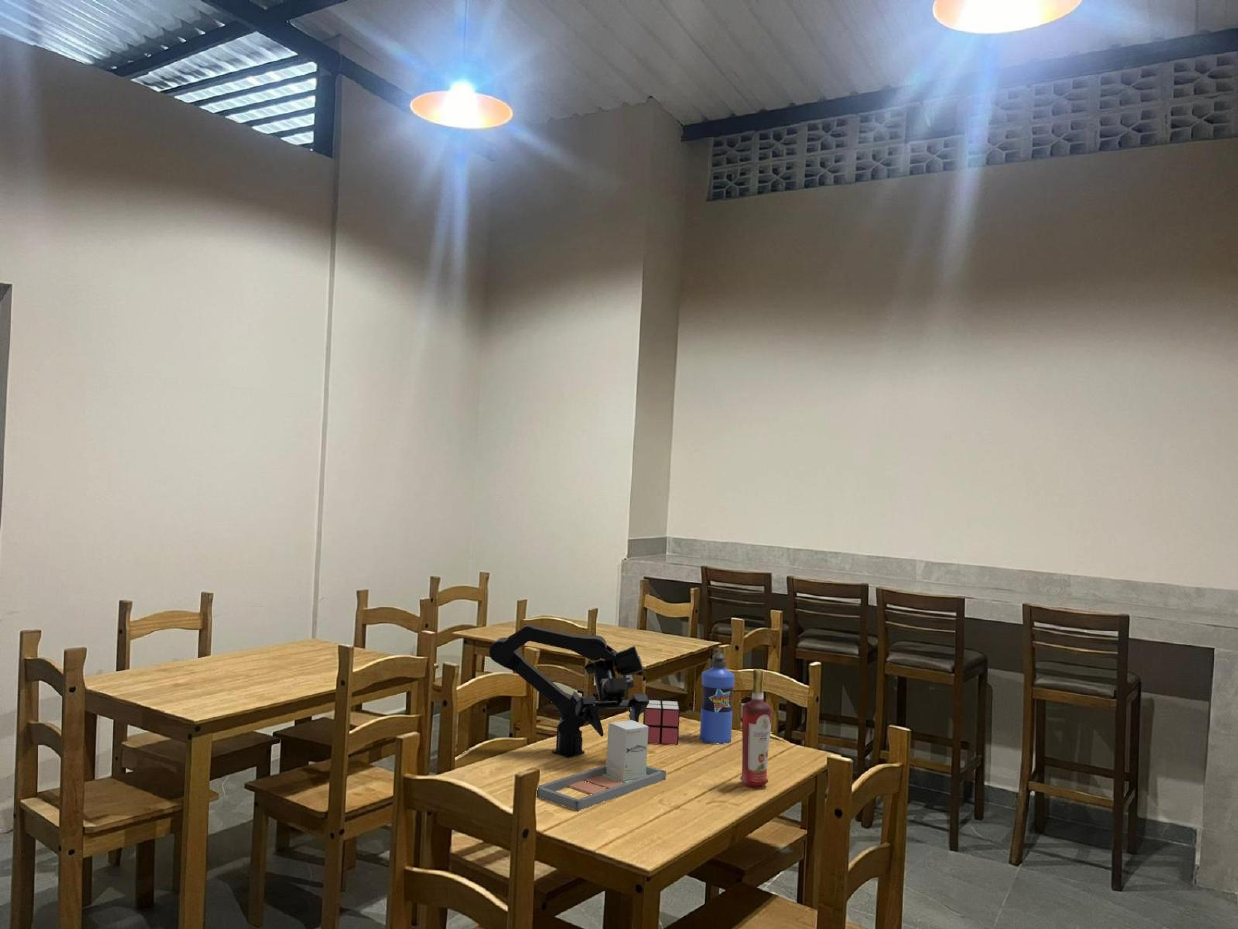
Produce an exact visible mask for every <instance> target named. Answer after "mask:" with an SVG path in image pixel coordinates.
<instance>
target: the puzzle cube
mask: <svg viewBox="0 0 1238 929" xmlns="http://www.w3.org/2000/svg"><path fill="white" fill-rule="evenodd" d="M680 709H681V708H680V706H679V702H678V701H671V700H662V701H661V700H653V699H652V700H651V699H649V704H648V705H647V707H646V709H645V711H644V713H642V715H643V718H642V724H644V725H646V726H648V744H649V743H660V745H668V744H675V745H674V746H678V745H679V737H680V736H679V735H680V714H681V713H680V712H681V710H680Z"/></svg>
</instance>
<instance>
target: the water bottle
mask: <svg viewBox="0 0 1238 929" xmlns="http://www.w3.org/2000/svg"><path fill="white" fill-rule="evenodd" d="M712 658H713V659H712V660H711V664H710V665H711V666H712V667H710V668H709V669H707V670H704V671H702V672H701V685H702V703H701V708H700V724H699V726H700V728H699V740H700V739H701V740H702V741H701V740H700V741H701V742H702V743H703V742H704V743H705V742H706V743H707V744H710V743H719V744H718V745H725V744H724V743H728V744H730V743H732V730H733V726H732V725H733V706H732V700H733V699H732V698H733V691H734V688H735V673H733V672H731V671H729V670H728V669H727V668H726V666H727V660H725V659H726V658H727V657H726V655H725V654H724V653H723V652H719V651H718V652H715V653H714V654H713V655H712Z"/></svg>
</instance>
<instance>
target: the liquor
mask: <svg viewBox="0 0 1238 929" xmlns="http://www.w3.org/2000/svg"><path fill="white" fill-rule="evenodd" d="M752 670H753V673H752V674H753V675H752V677H753V678H752V679H753V685H752V692H751V700H750V701H747V702H746V703H744V704H743V705H742V706H741V712H742V713H741V714H742V716H741V718H742V719H741V720H742V721H741V729H742V730H741V736H742V743H741V744H742V749H741V751H742V756H741V757H742V760H741V762H742V763H741V765H742V766H741V775H740V778H739V779H740V781H741V783H743V785H744V786H745V787H747V788H750V787H751V789H760V788H763V787H764V786H765V785H767V783H769V779H768V776H767V775H768V773H767V772H768V760H769V749H770V738H771V729H772V728H771V727H772V714H773V707H771V706H770V705H769V704H768V703H766V702H765V700H764V685H763V684H764V679H765V669H761V668H754V669H752Z"/></svg>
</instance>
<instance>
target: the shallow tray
mask: <svg viewBox="0 0 1238 929" xmlns="http://www.w3.org/2000/svg"><path fill="white" fill-rule="evenodd" d="M605 777H607V778H605ZM609 778H610V779H609ZM666 778H667V770H663V769H661V768H660V769H659V768H656V767H652V766H650V765H647V764H646V776H644V777H641V778H636V779H630V780H625V781H620V780H619V779H616V778H614V777H612V776H610V775H609V774H607V773H606V764H603V765H600V766H596V767H593V768H591V769H588V770H584V771H581V772H578V773H574V774H571V775H569V776H565V777H561V778H559V779H558V778H557V779H555V780H553V781H552V780H551V781H550V782H546V783H543V784H539V785H538V786H539V787H538V790H537V796H536V797H538V798H540V799H541V800H542V799H543V800H546V801H548V802H551V801H552V802H551V803H554V804H556V803H557V805H559V804H562V805H564V806H563V807H565V806H566V807H565V808H568V807H569V808H568V809H571V808H573V809H575V810H574V811H576V810H580V811H582V810H581V809H583V810H585V809H588V808H591V807H593V806H592V805H594V804H596V805H599V804H602V803H604V802H603V801H605V802H606V801H607V802H608V801H609V800H613V799H615V797H616V798H618V797H621V796H624V795H626V794H629V793H633V792H634V790H635V791H637V790H641V789H643V788H646V787H649V786H651V785H650V784H652V785H654V784H657V783H660V782H662V780H663V781H666ZM615 780H616V781H615ZM585 781H586V782H585ZM618 781H619V782H618ZM659 781H660V782H659ZM588 782H589V783H588ZM621 782H622V783H621ZM594 784H596V785H594ZM597 785H598V786H597ZM648 785H649V786H648ZM565 787H567V788H569V787H572V788H573V789H572V788H571V789H572V790H575V789H576V790H575V791H578V790H581V791H583V792H582V793H584V792H585V794H587V793H588V795H587V796H584V797H580V798H575V797H572V796H570V795H567V794H564V793H562V792H559V791H561V790H564V789H566V788H565ZM603 787H606V788H607V789H606V788H603ZM642 787H643V788H642ZM563 788H564V789H563ZM640 788H641V789H640ZM557 790H558V791H557ZM581 791H580V792H581ZM590 794H592V795H590ZM601 802H602V803H601ZM562 805H561V806H562ZM590 806H591V807H590ZM594 806H595V805H594ZM584 808H585V809H584ZM573 809H572V810H573Z"/></svg>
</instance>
